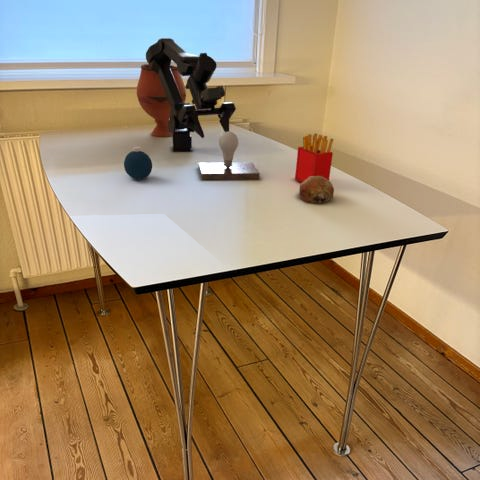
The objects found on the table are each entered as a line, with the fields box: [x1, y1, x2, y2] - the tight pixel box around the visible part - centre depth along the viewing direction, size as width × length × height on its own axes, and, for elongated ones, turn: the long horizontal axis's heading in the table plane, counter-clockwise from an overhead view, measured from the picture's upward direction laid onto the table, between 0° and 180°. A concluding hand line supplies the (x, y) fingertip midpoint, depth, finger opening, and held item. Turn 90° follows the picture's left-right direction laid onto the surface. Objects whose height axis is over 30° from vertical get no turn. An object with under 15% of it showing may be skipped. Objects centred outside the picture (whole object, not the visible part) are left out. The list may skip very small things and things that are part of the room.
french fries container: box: [294, 132, 334, 184], centre depth 150 cm, size 7×9×14 cm
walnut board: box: [197, 162, 260, 181], centre depth 157 cm, size 18×12×2 cm, turn 99°
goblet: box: [136, 63, 187, 138], centre depth 193 cm, size 19×19×25 cm
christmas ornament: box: [123, 146, 153, 181], centre depth 147 cm, size 8×8×10 cm
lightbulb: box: [218, 130, 239, 168], centre depth 154 cm, size 6×6×11 cm
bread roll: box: [298, 176, 335, 205], centre depth 140 cm, size 10×10×8 cm
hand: (215, 136), depth 158 cm, fingers open, 9 cm apart
